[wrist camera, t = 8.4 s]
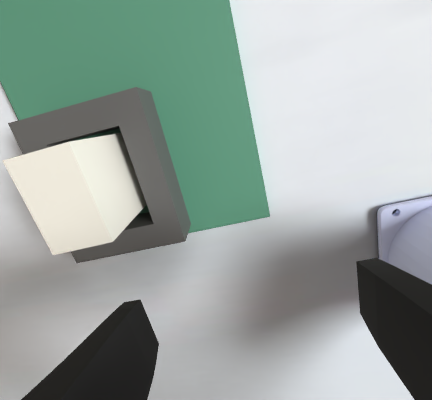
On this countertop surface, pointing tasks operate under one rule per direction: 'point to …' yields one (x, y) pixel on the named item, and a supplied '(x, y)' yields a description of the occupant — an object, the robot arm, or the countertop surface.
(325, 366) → the countertop surface
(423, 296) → the robot arm
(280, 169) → the countertop surface
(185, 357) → the countertop surface
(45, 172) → the plug
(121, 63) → the board
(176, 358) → the countertop surface
